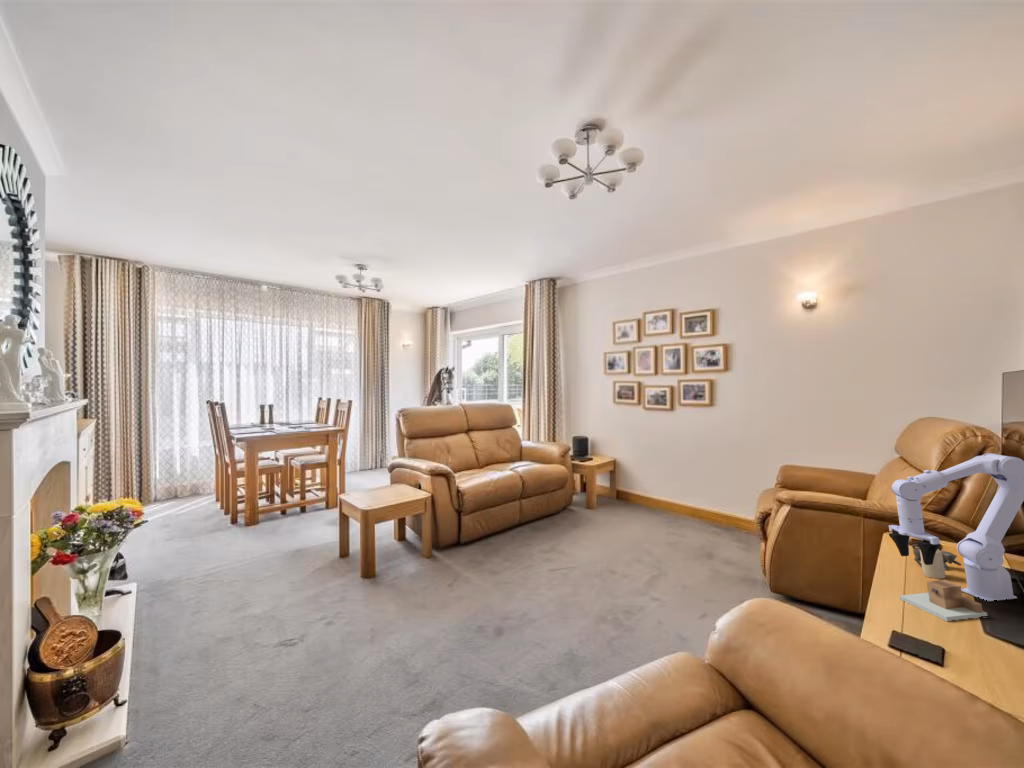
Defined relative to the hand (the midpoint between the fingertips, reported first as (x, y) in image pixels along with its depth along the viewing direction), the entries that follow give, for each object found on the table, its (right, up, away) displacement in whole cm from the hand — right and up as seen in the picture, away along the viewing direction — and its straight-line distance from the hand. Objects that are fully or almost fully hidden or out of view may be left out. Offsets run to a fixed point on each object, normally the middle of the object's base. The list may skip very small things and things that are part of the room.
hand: (916, 559), depth 134 cm
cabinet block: (-3, -8, -12) cm, 14 cm away
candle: (+15, -10, +9) cm, 20 cm away
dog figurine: (+22, -9, +15) cm, 29 cm away
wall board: (-3, -10, -11) cm, 15 cm away
